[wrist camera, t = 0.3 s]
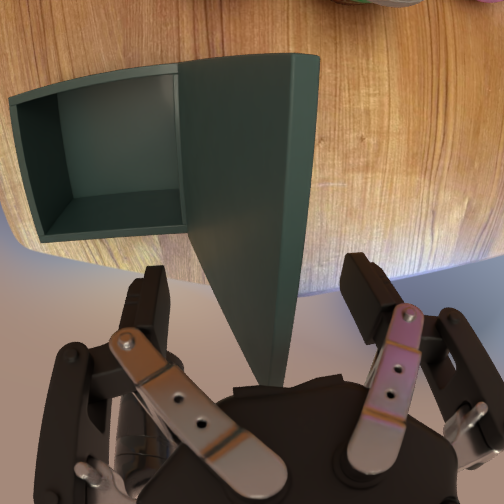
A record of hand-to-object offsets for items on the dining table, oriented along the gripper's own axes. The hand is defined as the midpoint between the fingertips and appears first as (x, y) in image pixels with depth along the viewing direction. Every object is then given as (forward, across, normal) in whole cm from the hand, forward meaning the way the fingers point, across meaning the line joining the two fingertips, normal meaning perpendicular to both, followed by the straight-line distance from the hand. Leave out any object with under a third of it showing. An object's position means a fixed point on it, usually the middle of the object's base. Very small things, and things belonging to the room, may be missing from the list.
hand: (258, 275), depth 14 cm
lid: (+4, -2, +2) cm, 5 cm away
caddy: (+21, -11, +2) cm, 24 cm away
